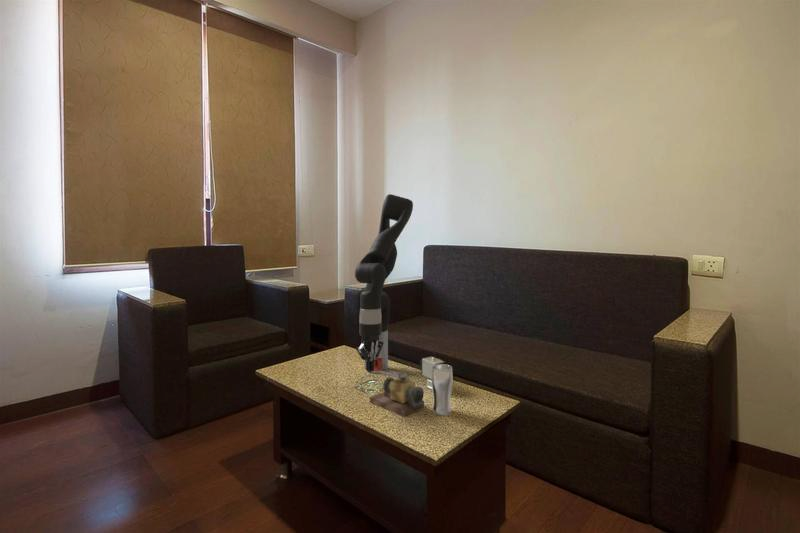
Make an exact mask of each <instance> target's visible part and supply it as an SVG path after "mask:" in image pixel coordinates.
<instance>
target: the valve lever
mask: <svg viewBox="0 0 800 533" xmlns="http://www.w3.org/2000/svg"><path fill="white" fill-rule="evenodd" d="M372 372H377V373H376V374H382V375H387V376H389V377H390V376H391V377H395V378H397V379H398V378H399V379H408V373H407V372H400V371H395V370H391V369H388V370H387V369H382V358H378V357H376V359H375V360H374V371H372Z"/></svg>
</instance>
